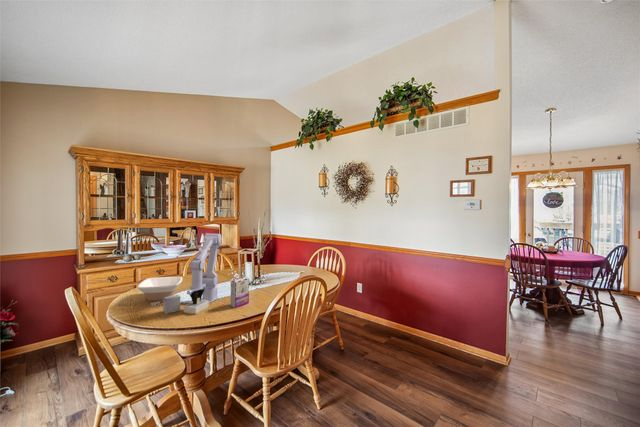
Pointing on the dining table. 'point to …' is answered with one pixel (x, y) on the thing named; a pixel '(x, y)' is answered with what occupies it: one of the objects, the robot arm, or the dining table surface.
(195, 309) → the box
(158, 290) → the bowl
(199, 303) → the lid
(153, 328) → the dining table surface
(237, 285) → the candy bar box
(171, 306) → the medicine box
